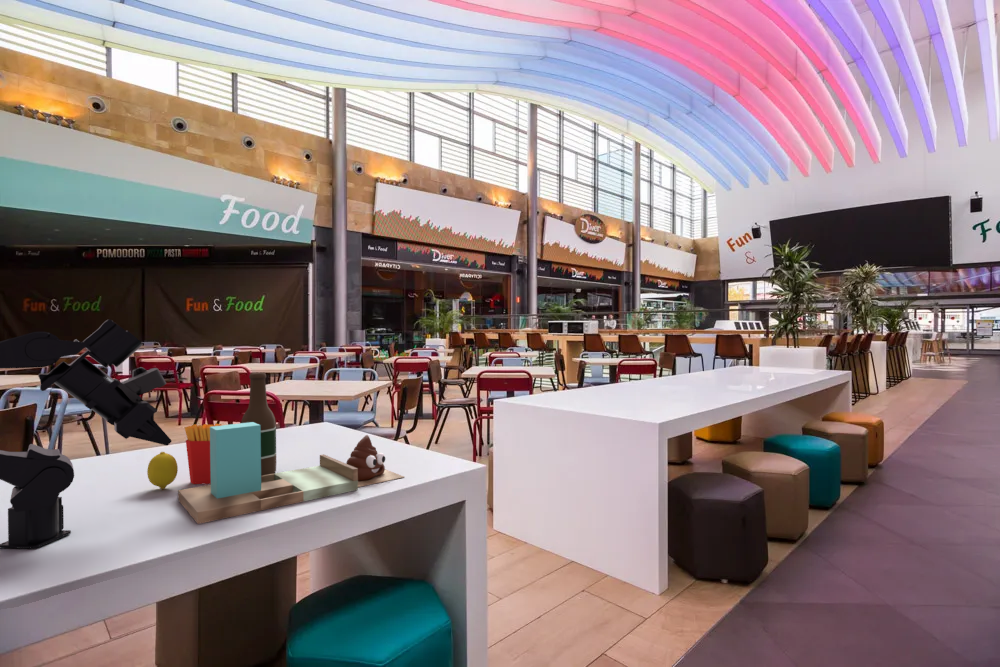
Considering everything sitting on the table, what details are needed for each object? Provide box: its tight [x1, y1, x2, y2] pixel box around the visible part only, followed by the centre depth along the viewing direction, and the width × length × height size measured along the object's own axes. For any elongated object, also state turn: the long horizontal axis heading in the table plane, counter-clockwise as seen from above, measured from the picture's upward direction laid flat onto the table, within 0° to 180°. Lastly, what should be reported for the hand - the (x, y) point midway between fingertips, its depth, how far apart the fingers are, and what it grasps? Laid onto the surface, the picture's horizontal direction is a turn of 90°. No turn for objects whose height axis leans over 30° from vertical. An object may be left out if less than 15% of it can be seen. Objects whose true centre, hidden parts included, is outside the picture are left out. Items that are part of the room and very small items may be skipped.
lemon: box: [146, 451, 179, 490], centre depth 116 cm, size 6×6×8 cm
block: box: [210, 422, 261, 499], centre depth 106 cm, size 8×5×13 cm, turn 130°
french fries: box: [184, 423, 222, 485], centre depth 121 cm, size 9×4×13 cm, turn 90°
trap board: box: [177, 454, 359, 525], centre depth 110 cm, size 30×18×4 cm, turn 130°
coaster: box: [358, 468, 405, 488], centre depth 123 cm, size 13×13×1 cm
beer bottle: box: [240, 372, 277, 476], centre depth 126 cm, size 8×8×24 cm
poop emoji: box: [346, 434, 386, 481], centre depth 123 cm, size 10×8×9 cm
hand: (169, 443), depth 99 cm, fingers closed
